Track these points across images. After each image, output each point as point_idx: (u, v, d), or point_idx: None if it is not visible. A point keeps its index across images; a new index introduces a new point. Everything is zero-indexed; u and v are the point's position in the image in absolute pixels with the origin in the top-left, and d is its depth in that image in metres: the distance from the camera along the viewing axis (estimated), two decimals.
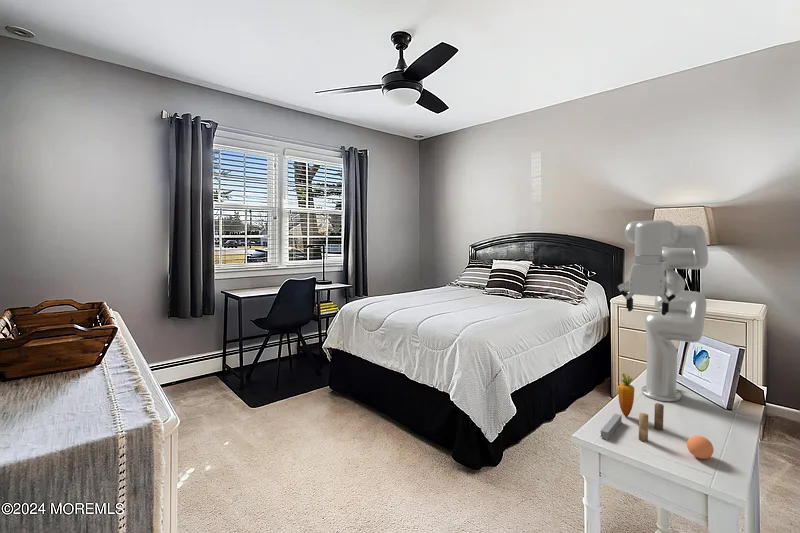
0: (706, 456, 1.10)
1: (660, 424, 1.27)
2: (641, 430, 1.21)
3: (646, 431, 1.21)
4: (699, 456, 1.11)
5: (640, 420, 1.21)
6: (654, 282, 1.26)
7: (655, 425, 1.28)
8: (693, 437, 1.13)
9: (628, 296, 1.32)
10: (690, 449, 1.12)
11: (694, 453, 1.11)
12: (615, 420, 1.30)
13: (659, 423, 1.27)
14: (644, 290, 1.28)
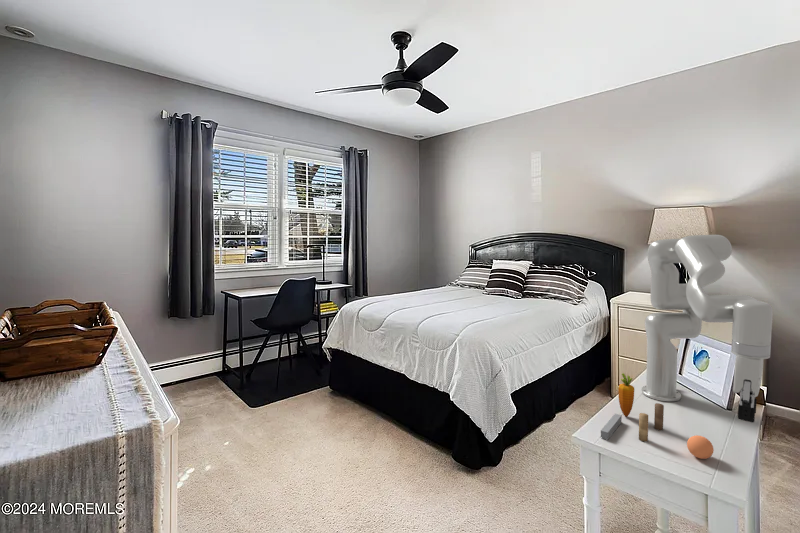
0: (706, 456, 1.10)
1: (660, 424, 1.27)
2: (641, 430, 1.21)
3: (646, 431, 1.21)
4: (699, 456, 1.11)
5: (640, 420, 1.21)
6: None
7: (655, 425, 1.28)
8: (693, 437, 1.13)
9: (753, 403, 1.00)
10: (690, 449, 1.12)
11: (694, 453, 1.11)
12: (615, 420, 1.30)
13: (659, 423, 1.27)
14: None
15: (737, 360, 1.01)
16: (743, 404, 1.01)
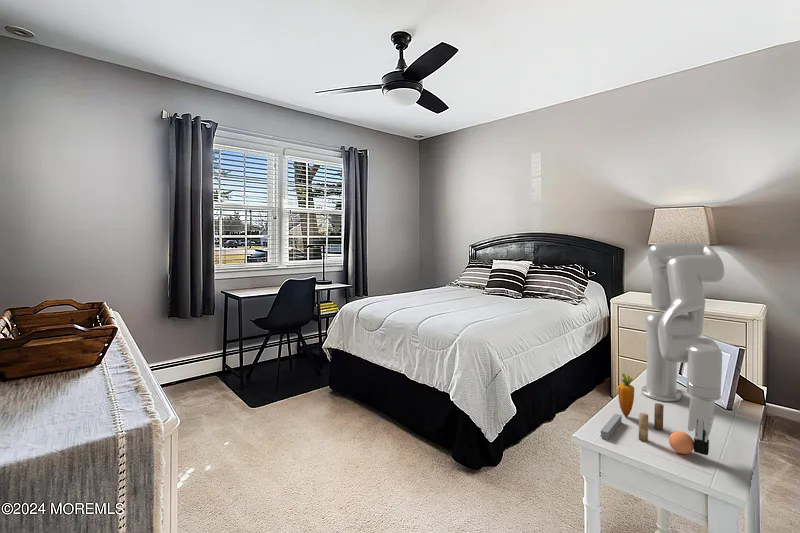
0: (687, 445, 1.12)
1: (660, 424, 1.27)
2: (641, 430, 1.21)
3: (646, 431, 1.21)
4: (687, 450, 1.12)
5: (640, 420, 1.21)
6: None
7: (655, 425, 1.28)
8: (669, 442, 1.16)
9: (706, 438, 1.10)
10: (679, 452, 1.14)
11: (683, 452, 1.13)
12: (615, 420, 1.30)
13: (659, 423, 1.27)
14: None
15: (691, 401, 1.09)
16: (698, 439, 1.10)
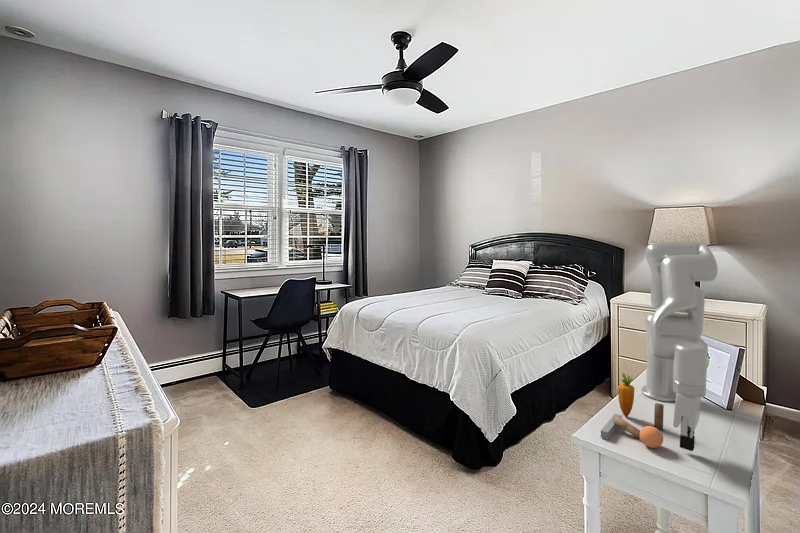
0: (642, 440, 1.18)
1: (660, 424, 1.27)
2: (627, 429, 1.25)
3: (630, 426, 1.24)
4: (647, 439, 1.17)
5: (617, 423, 1.27)
6: None
7: (655, 425, 1.28)
8: None
9: (692, 434, 1.12)
10: (657, 441, 1.15)
11: (652, 440, 1.16)
12: None
13: (659, 423, 1.27)
14: (697, 421, 1.12)
15: (676, 398, 1.11)
16: (683, 435, 1.13)
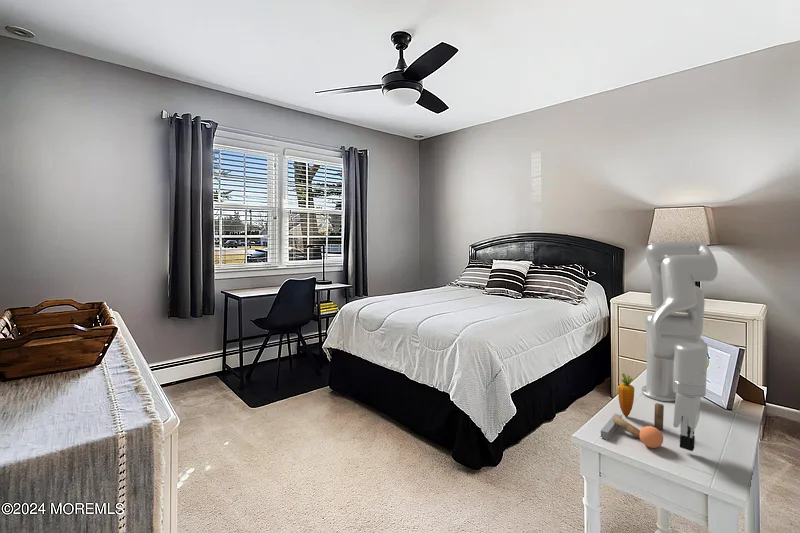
0: (642, 440, 1.18)
1: (660, 424, 1.27)
2: (627, 429, 1.25)
3: (630, 426, 1.24)
4: (647, 439, 1.17)
5: (617, 423, 1.27)
6: None
7: (655, 425, 1.28)
8: None
9: (692, 434, 1.12)
10: (657, 441, 1.15)
11: (652, 440, 1.16)
12: None
13: (659, 423, 1.27)
14: (697, 421, 1.12)
15: (676, 398, 1.11)
16: (683, 435, 1.13)
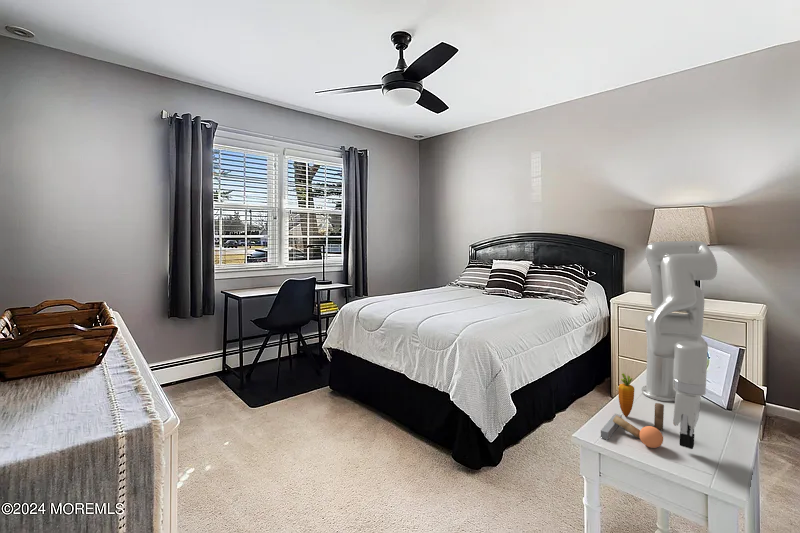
0: (642, 440, 1.18)
1: (660, 424, 1.27)
2: (627, 429, 1.25)
3: (630, 426, 1.24)
4: (647, 439, 1.17)
5: (617, 423, 1.27)
6: (699, 407, 1.13)
7: (655, 425, 1.28)
8: None
9: (692, 432, 1.12)
10: (657, 441, 1.15)
11: (652, 440, 1.16)
12: None
13: (659, 423, 1.27)
14: (697, 420, 1.12)
15: (676, 396, 1.11)
16: (683, 433, 1.13)
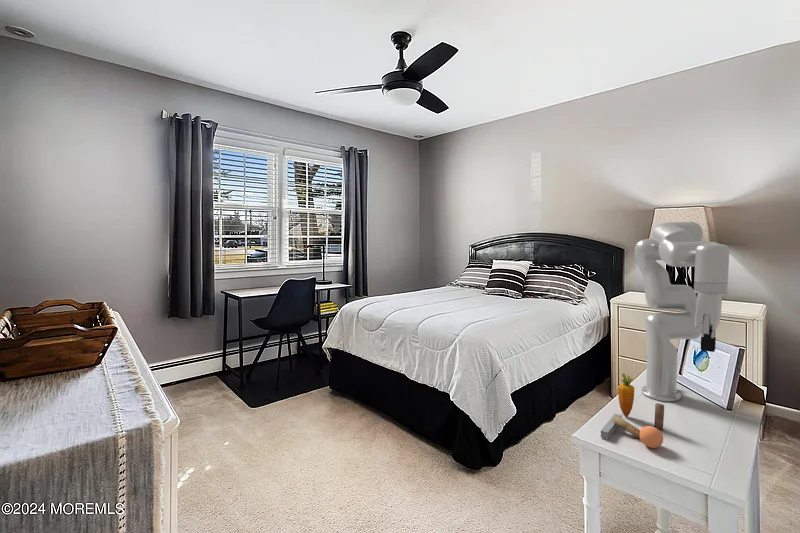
0: (642, 440, 1.18)
1: (660, 424, 1.27)
2: (627, 429, 1.25)
3: (630, 426, 1.24)
4: (647, 439, 1.17)
5: (617, 423, 1.27)
6: None
7: (655, 425, 1.28)
8: None
9: (713, 334, 1.13)
10: (657, 441, 1.15)
11: (652, 440, 1.16)
12: None
13: (659, 423, 1.27)
14: (718, 321, 1.12)
15: (698, 297, 1.12)
16: (704, 335, 1.13)
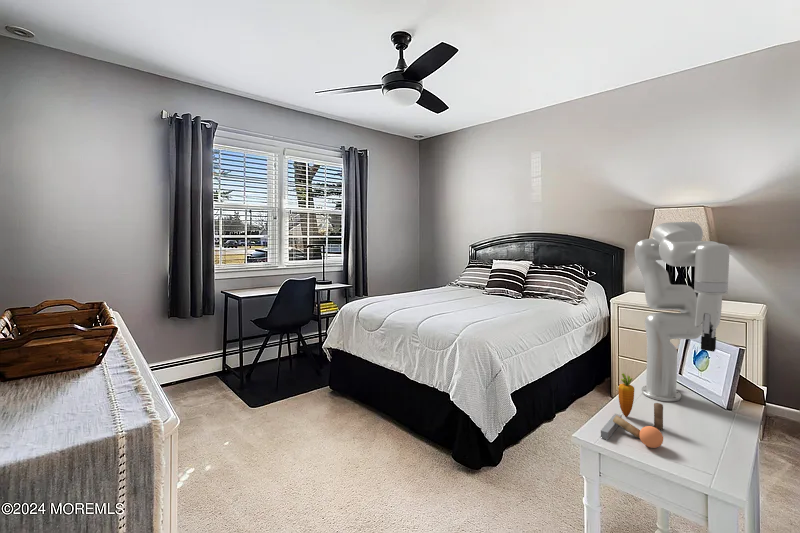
0: (642, 440, 1.18)
1: (660, 424, 1.27)
2: (627, 429, 1.25)
3: (630, 426, 1.24)
4: (647, 439, 1.17)
5: (617, 423, 1.27)
6: None
7: (655, 425, 1.28)
8: None
9: (713, 334, 1.13)
10: (657, 441, 1.15)
11: (652, 440, 1.16)
12: None
13: (659, 423, 1.27)
14: (719, 321, 1.12)
15: (698, 297, 1.12)
16: (705, 335, 1.13)
